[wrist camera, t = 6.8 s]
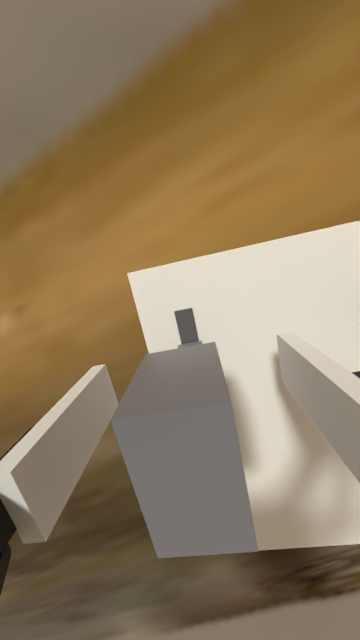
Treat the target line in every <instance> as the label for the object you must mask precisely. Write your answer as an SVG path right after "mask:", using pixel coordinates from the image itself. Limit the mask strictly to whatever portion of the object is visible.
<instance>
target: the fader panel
mask: <svg viewBox="0 0 360 640" xmlns="http://www.w3.org/2000/svg"><path fill="white" fill-rule="evenodd" d="M127 274H128V278H129V282H130V285H131V289H132V293H133V296H134V300H135V304H136V307H137V311H138V315H139V318H140V322H141V326H142V330H143V333H144V337H145V341H146V344H147V348H148V352H149V354H150V353H155V352H161V351H166V350H172V349H178V345H181V344H186V343H192V342H197V341H202V344H205V343H211V342H215V343H216V347H217V350H218V354H219V358H220V362H221V365H222V369H223V373H224V376H225V380H226V384H227V387H228V391H229V395H230V398H231V402H232V407H233V413H234V418H235V424H236V429H237V435H238V440H239V446H240V451H241V457H242V462H243V468H244V473H245V479H246V485H247V490H248V496H249V501H250V507H251V512H252V518H253V523H254V529H255V534H256V540H257V545H258V551H259V550H274V549H289V548H305V547H320V546H335V545H350V544H360V483H359V482H358V480H357V479H356V478H355V476H354V475H353V474H352V473H351V471H350V470H349V469H348V467H347V466H346V465H345V463H344V462H343V461H342V459H341V458H340V457H339V455H338V454H337V453H336V451H335V450H334V449H333V447H332V446H331V445H330V443H329V442H328V441H327V439H326V438H325V437H324V435H323V434H322V433H321V431H320V430H319V429H318V427H317V426H316V425H315V423H314V422H313V421H312V419H311V418H310V417H309V416H308V414H307V413H306V412H305V410H304V409H303V408H302V406H301V405H300V404H299V402H298V401H297V400H296V398H295V397H294V396H293V394H292V393H291V392H290V390H289V389H288V388H287V386H286V385H285V384H284V382H283V381H282V379H281V371H280V362H279V353H278V344H277V335H276V334H278V333H283V332H289V331H292V332H293V333H295V334H296V335H298V336H299V337H301V338H302V339H304V340H305V341H306V342H308V343H309V344H311V345H312V346H314V347H315V348H317V349H318V350H319V351H321V352H322V353H324V354H325V355H327V356H328V357H330V358H331V359H332V360H334V361H335V362H337V363H338V364H340V365H341V366H343V367H344V368H345V369H347V370H348V371H350V372H357V371H360V221H356V222H351V223H347V224H343V225H338V226H334V227H329V228H325V229H321V230H316V231H312V232H307V233H303V234H299V235H294V236H290V237H285V238H281V239H277V240H272V241H268V242H263V243H259V244H255V245H250V246H246V247H241V248H237V249H233V250H228V251H224V252H219V253H215V254H211V255H206V256H202V257H197V258H193V259H189V260H184V261H180V262H175V263H171V264H167V265H162V266H158V267H153V268H149V269H144V270H140V271H136V272H131V273H127Z"/></svg>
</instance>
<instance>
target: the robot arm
mask: <svg viewBox="0 0 360 640" xmlns="http://www.w3.org/2000/svg"><path fill="white" fill-rule="evenodd" d="M276 335H277V344H278V353H279V362H280V371H281V379H282V381H283V382H284V384H285V385H286V386H287V388H288V389H289V390H290V392H291V393H292V394H293V396H294V397H295V398H296V400H297V401H298V402H299V404H300V405H301V406H302V408H303V409H304V410H305V412H306V413H307V414H308V416H309V417H310V418H311V419H312V421H313V422H314V423H315V425H316V426H317V427H318V429H319V430H320V431H321V433H322V434H323V435H324V437H325V438H326V439H327V441H328V442H329V443H330V445H331V446H332V447H333V449H334V450H335V451H336V453H337V454H338V455H339V457H340V458H341V459H342V461H343V462H344V463H345V465H346V466H347V467H348V469H349V470H350V471H351V473H352V474H353V475H354V476H355V478H356V479H357V480H358V482H359V483H360V371H357V372H350V371H348V370H347V369H345V368H344V367H343V366H341V365H340V364H338V363H337V362H335V361H334V360H332V359H331V358H330V357H328V356H327V355H325V354H324V353H322V352H321V351H319V350H318V349H317V348H315V347H314V346H312V345H311V344H309V343H308V342H306V341H305V340H304V339H302V338H301V337H299V336H298V335H296V334H295V333H293V332H292V331H289V332H283V333H278V334H276ZM118 405H119V404H118V401H117V398H116V395H115V392H114V389H113V386H112V383H111V380H110V377H109V374H108V371H107V368H106V365H105V364H104V365H98V366H93V367H92V368H91V369H90V370H89V371H88V372H87V373H86V374H85V375H84V376H83V377H82V378H81V379H80V380H79V381H78V382H77V383H76V384H75V385H74V386H73V387H72V388H71V389H70V390H69V391H68V392H67V393H66V394H65V396H64V397H63V398H62V399H61V400H60V401H59V402H58V403H57V404H56V405H55V406H54V407H53V408H52V409H51V410H50V411H49V412H48V413H47V414H46V415H45V416H44V417H43V418H42V419H41V420H40V421H39V422H38V423H37V424H36V425H35V426H33V427H32V428H30V429H29V430H28V431H27V432H26V433H25V434H24V435H23V436H22V437H21V438H20V439H19V441H18V442H16V443H15V444H14V445H13V446H12V447H11V448H10V451H7V452H6V453H5V454H4V455H3V456H2V457H1V458H0V594H1V590H2V587H3V583H4V579H5V576H6V572H7V568H8V565H9V561H10V557H11V548H10V546H9V545H8V541H9V540H10V538H11V537H12V535H13V534H14V532H15V531H16V530H17V532H18V534H19V536H20V538H21V539H22V541H23V543H36V542H46V540H47V539H48V537H49V535H50V533H51V531H52V529H53V527H54V525H55V524H56V522H57V520H58V518H59V516H60V514H61V512H62V510H63V509H64V507H65V505H66V503H67V501H68V499H69V497H70V495H71V493H72V492H73V490H74V488H75V486H76V484H77V482H78V480H79V478H80V477H81V475H82V473H83V471H84V469H85V467H86V465H87V463H88V462H89V460H90V458H91V456H92V454H93V452H94V450H95V448H96V447H97V445H98V443H99V441H100V439H101V437H102V435H103V433H104V432H105V430H106V428H107V426H108V424H109V422H110V420H111V418H112V416H113V414H114V413H115V411H116V409H117V407H118Z"/></svg>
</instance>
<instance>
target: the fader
mask: <svg viewBox="0 0 360 640" xmlns="http://www.w3.org/2000/svg"><path fill="white" fill-rule="evenodd" d="M110 421H111V424H112V427H113V429H114V432H115V435H116V438H117V441H118V444H119V447H120V450H121V452H122V455H123V458H124V461H125V464H126V467H127V470H128V473H129V476H130V478H131V481H132V484H133V487H134V490H135V493H136V496H137V499H138V502H139V504H140V507H141V510H142V513H143V516H144V519H145V522H146V525H147V528H148V530H149V533H150V536H151V539H152V542H153V545H154V548H155V551H156V554H157V556H158V558H169V557H184V556H199V555H215V554H230V553H245V552H259V551H258V545H257V540H256V534H255V529H254V523H253V518H252V512H251V507H250V501H249V496H248V490H247V485H246V479H245V473H244V468H243V462H242V457H241V451H240V446H239V440H238V435H237V429H236V424H235V418H234V413H233V407H232V402H231V398H230V395H229V391H228V387H227V384H226V380H225V376H224V373H223V369H222V365H221V362H220V358H219V354H218V350H217V347H216V343H215V342H211V343H205V344H202V341H197V342H192V343H186V344H181V345H178V349H172V350H166V351H161V352H155V353H150V354H145V356H144V358H143V360H142V362H141V364H140V366H139V368H138V369H137V371H136V373H135V375H134V377H133V379H132V381H131V383H130V384H129V386H128V388H127V390H126V392H125V394H124V396H123V398H122V399H121V401H120V403H119V405H118V407H117V409H116V411H115V413H114V414H113V416H112V418H111V420H110Z"/></svg>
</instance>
